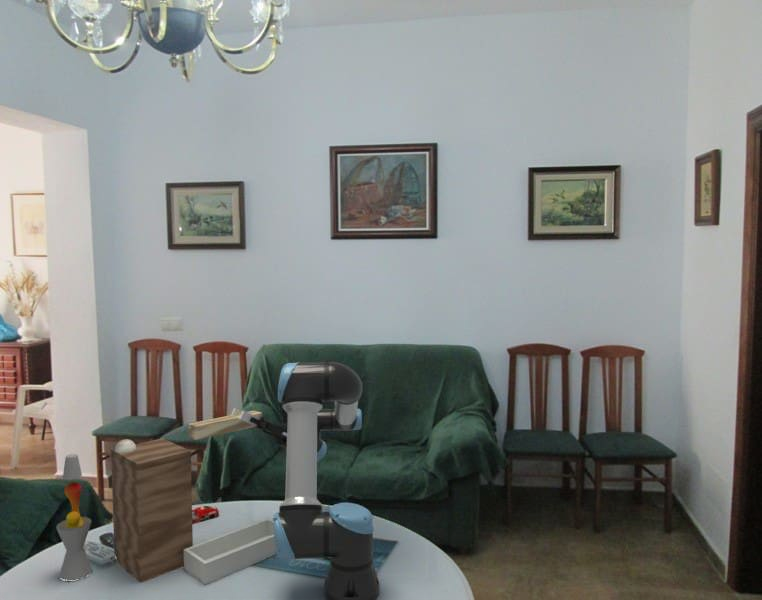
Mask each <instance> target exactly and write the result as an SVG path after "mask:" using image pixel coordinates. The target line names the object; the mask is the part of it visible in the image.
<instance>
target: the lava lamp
mask: <svg viewBox="0 0 762 600" xmlns="http://www.w3.org/2000/svg"><path fill="white" fill-rule="evenodd" d="M64 459H65V460H64V467H63V472H62V473H63V474H62V479H64V480H73V479H74V480H75V479H78V478H80V477H81V478H82V475H83V473H82V470H81V469H82V468H81V464H80V459H79V455H78V454H76V453H70V454H67V455H66V456H65V458H64ZM64 494H65V496H66V497H67V499H68V500H69V502H70V505H71V511H70V512H69V513H68V514H67V515H66V517H65V518H66V519H64V520H62V521H59V523H57V525H56V526H55V527H56V530H57V533H58V535H59V537H60V539H61V542H62V543H63V546H64V547H65V548H64V549H65V550H66V552H65V554H64V558H63V562H62V565H61V569H60V572H59V575H60V578H62V579H65V580H66V579H67V580H76V579H81V578H83V577H86V576H87V575H89V574H90V573H91V571H92V572H93V568H92V565H91V563H90V560H89V558H88V555H87V553H86V551H85V548H84V546H85V543H86V539H87V536H88V535H89V531H90V528H91V525H92V519H91V518H90V517H88V516H81V513H80V508H79V507H80V499H81V498H80V497H81V494H82V485H81V484H79V482H75V481H74V482H69V483H68V484H67V485H66V486H65V488H64ZM91 574H92V573H91ZM91 574H90V575H91ZM90 575H89V576H90ZM86 578H87V577H86ZM81 580H82V579H81Z"/></svg>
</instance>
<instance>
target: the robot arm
mask: <svg viewBox="0 0 762 600" xmlns="http://www.w3.org/2000/svg"><path fill="white" fill-rule="evenodd" d="M362 394H363V382H362V380H361V378H360V376H359V375H358V374H357V372H355V371H354V370H353V369H352V368H350V367H349V366H347V365H346V364H343V363H340V362H336V361H329V362H326V361H324V362H322V361H321V362H318V361H317V362H314V361H310V362H306V361H305V362H300V361H298V362H289V363H288V362H287V363H286V364H284V365H283V366H282V368H281V371H280V374H279V380H278V386H277V401H278V403H281V404H282V410H284V411H285V412H286V413H287V422H286V423H282V424H280V425H277V424H275V423H272V422H269V421H268V420H265V417H264V416H262V417H261V418H260V420H259V418H258V417H256V416H254V415H252V414H249V413H247V412H248V411H245V410H240V409H237V408H235V407H234V408H233V409H232V412H231V414H230V415H235V414H240V413H241V416H240V418H239V419H240V420H242V421H245V422H247V423H249V424H251V425H254V426H256V425H257V426H256V427H254V428H256V429H258V430H260V431H261V432H263V433H264V434H267V436H270V437H272V438H273V441H274V443H275V444H276V445H277V446H278V447H281V448H283V449H286V455H285V457H286V458H285V459H286V460H285V461H286V462H285V467H286V468H285V492H284V493H285V494H284V496H285V497H284V500H283V501H282V503H281V504H280V505H279V510H278V512H276V513H274V514H273V519H272V520H274V523H273V524H274V537H275V545H276V550H277V554H276V555H278V557H279V558H281V559H283V560H284V559H286V560H288V559H289V560H301V559H302V560H304V559H305V560H306V559H325V558H326V559H327V558H329V561H330V563H329V568H328V570H327V576H326V579H325V580H324V582H323V583H324V584H323V595H324V598H325V599H326V600H376V599H377V598H378V597H379V595H380V580H379V578H378V575H377V572H376V571H377V570H376V569H375V566H374V565H375V564H374V539H373V537H374V535H373V533H374V531H375V529H374V523H373V520H374V519H373V514H372V513H371V511H370V510H369V509H367V508H366V507H364V506H363V505H360V504H358V503H352V502H339V503H335V504H333V505H331V506H330V509H329V511H323V504H322V503H321V502H320V501H319V499H318V497H317V496H318V495H317V493H318V490H317V489H318V485H317V484H318V482H317V481H318V474H317V473H318V461H320V460H322V459H323V458H324V457H325V455H326V453H327V449H328V447H327V444H326V442H325V441H324V440H323V439H321V432H322V431H324V432H325V431H357V430H361V429H362V427H363V425H362V424H363V419H362V417H363V416H362V415H363V413H362V409H360V408H358V405H359V400H360V399H361V397H362ZM323 402H334V408H323Z"/></svg>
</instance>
